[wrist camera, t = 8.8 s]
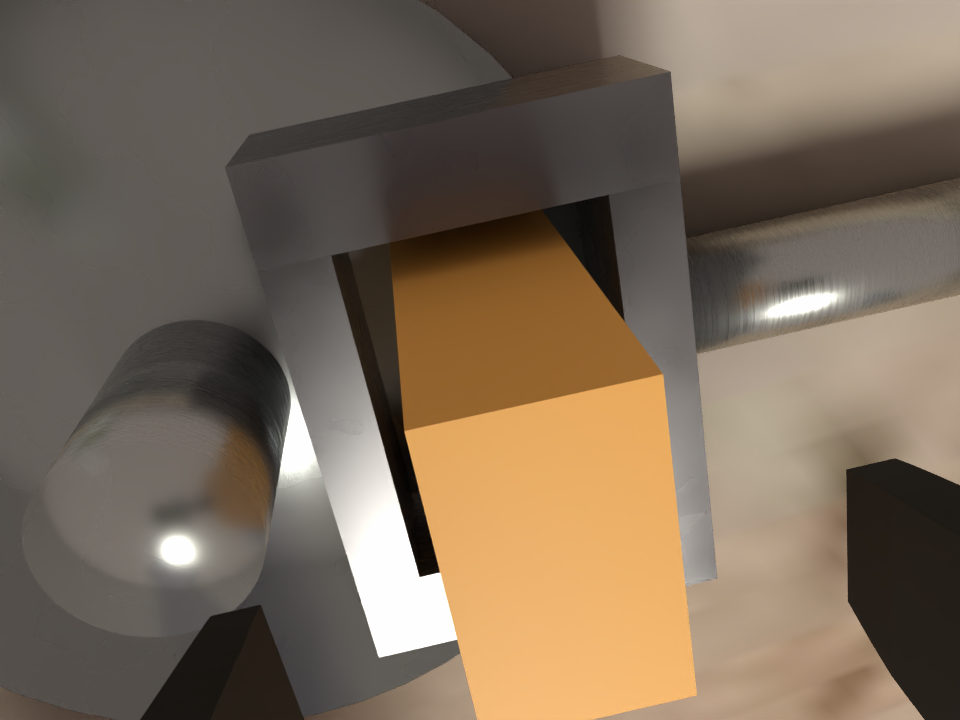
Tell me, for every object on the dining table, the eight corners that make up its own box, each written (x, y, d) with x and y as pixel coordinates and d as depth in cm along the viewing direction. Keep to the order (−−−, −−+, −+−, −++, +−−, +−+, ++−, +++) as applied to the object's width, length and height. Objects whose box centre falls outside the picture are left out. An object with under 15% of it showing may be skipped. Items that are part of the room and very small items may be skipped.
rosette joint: (963, 533, 23) (1146, 705, 18) (-24, 764, 22) (-150, 1018, 17) (1010, -273, 16) (1354, -405, 10) (-476, 33, 15) (-962, 67, 9)
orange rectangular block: (572, 422, 19) (696, 696, 12) (439, 452, 19) (483, 745, 12) (537, 204, 17) (663, 374, 10) (389, 236, 17) (404, 431, 10)
